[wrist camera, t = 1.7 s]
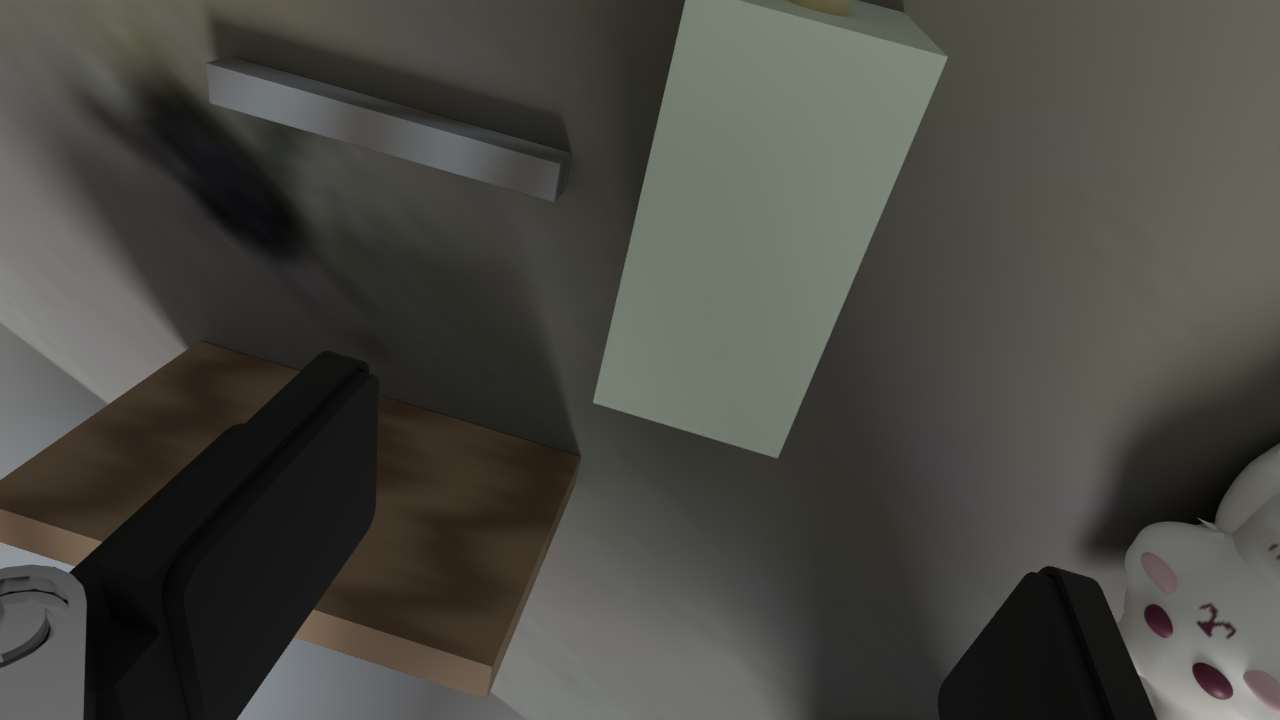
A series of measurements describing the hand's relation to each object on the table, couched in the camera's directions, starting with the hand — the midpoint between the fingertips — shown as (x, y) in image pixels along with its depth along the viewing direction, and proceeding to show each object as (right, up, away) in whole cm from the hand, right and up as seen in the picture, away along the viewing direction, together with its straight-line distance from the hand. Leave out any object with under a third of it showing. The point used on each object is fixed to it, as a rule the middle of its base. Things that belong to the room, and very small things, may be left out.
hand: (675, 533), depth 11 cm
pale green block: (+4, +10, +17) cm, 20 cm away
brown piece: (-12, +6, +23) cm, 26 cm away
